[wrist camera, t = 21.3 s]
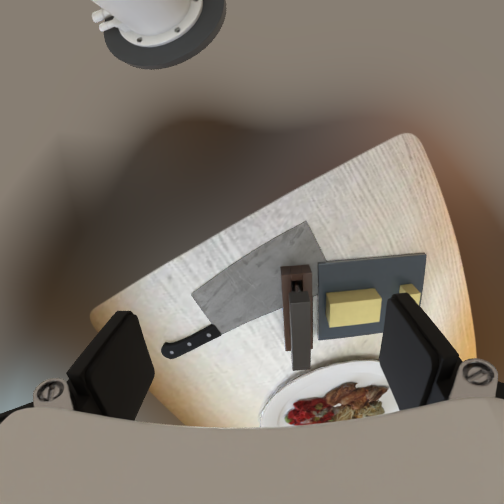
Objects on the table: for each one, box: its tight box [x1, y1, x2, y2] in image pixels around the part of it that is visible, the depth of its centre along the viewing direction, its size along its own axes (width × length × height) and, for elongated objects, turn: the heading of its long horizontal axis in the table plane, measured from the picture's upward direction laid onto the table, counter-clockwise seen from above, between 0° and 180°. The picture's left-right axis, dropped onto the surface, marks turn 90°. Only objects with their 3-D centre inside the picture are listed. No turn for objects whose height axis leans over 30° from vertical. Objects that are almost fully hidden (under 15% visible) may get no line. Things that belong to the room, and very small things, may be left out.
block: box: [280, 264, 313, 351], centre depth 40 cm, size 4×12×3 cm, turn 6°
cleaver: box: [161, 221, 327, 359], centre depth 42 cm, size 29×1×10 cm
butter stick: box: [326, 288, 382, 327], centre depth 39 cm, size 7×4×3 cm, turn 96°
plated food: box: [260, 360, 400, 427], centre depth 47 cm, size 30×30×3 cm
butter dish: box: [317, 253, 426, 340], centre depth 40 cm, size 16×12×1 cm
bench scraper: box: [289, 281, 311, 371], centre depth 37 cm, size 2×10×9 cm, turn 5°
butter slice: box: [399, 284, 421, 305], centre depth 38 cm, size 2×4×3 cm, turn 6°
